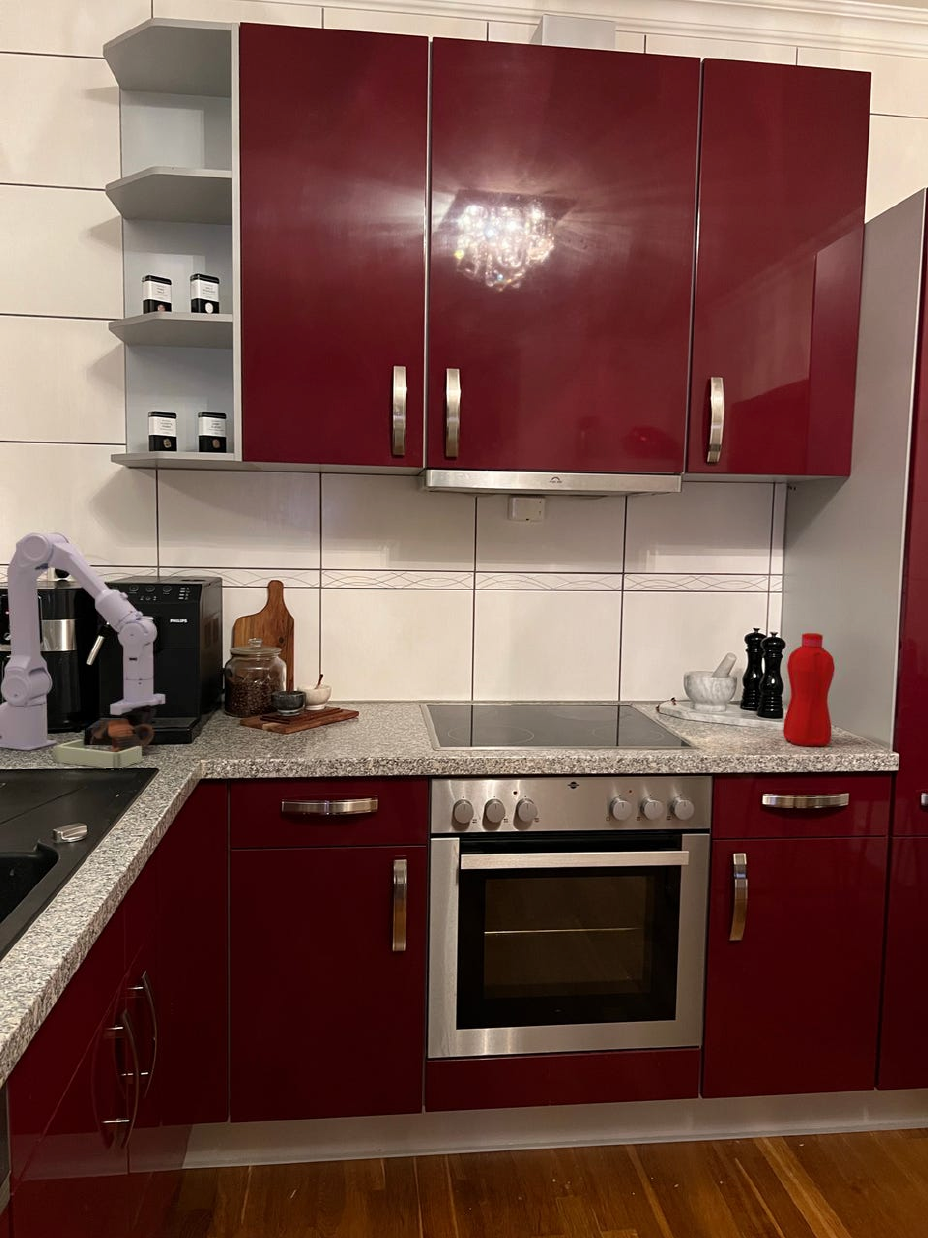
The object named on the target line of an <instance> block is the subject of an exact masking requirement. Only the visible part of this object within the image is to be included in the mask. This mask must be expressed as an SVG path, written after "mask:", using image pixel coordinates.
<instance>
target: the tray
mask: <svg viewBox="0 0 928 1238" xmlns="http://www.w3.org/2000/svg"><path fill="white" fill-rule="evenodd" d="M52 756H53V757H52V758H53V761H52V762H54V763H58V764H59V763H60V764H61V763H62V764H66V763H68V765H74V764H78V765H77V766H82V765H94V766H101V767H113V768H119V767H125V766H128V767H130V766H129V765H131V764H134V763H137V764H139V763H138V762H140V763H141V761H142V762H143V749H142V746H136V747H133V748H130V749H126V750H123V751H120V752H109V750H108V751H106V750H100V749H99V750H98V749H89V748H84V739H80V738H79V739H77V740H75V739H74V740H72V741H69V742H64V743H62V744H58V745H54V746H52ZM134 765H135V764H134ZM131 766H132V765H131ZM125 768H126V767H125Z"/></svg>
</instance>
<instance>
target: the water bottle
mask: <svg viewBox="0 0 928 1238" xmlns="http://www.w3.org/2000/svg"><path fill="white" fill-rule="evenodd" d="M823 637H824V636H823V634H820V633H818V632H816V633H815V632H809V633H808V632H806V633H803V634H801V646H799V647H797V648H795V649H794V650H792V651H791V653H790V654H789V656H788V658H787V659H788V660H787V665H786V670H787V674H788V680H789V687H790V700H789V703H788V706H787V711H786V713H785V717H784V721H783V727H782V728H783V729H782V733H783V734H782V735H783V738H784V739H785V740H786V741H787V740H788V741H787V742H789V741H790V743H792V744H793V745H796V746H799V747H800V746H801V747H826V746H828V745H829V744H830V742H831V739H832V721H831V716H830V709H829V704H828V697H829V691H830V688H831V685H832V681H833V679H834V675H835V671H836V670H835V669H836V666H835V662H834V661H835V660H834V657H833V656H832V655H831V653H830V652H829V651H828V650H826V649H825V648H823V639H824V638H823Z"/></svg>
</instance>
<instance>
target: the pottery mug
mask: <svg viewBox="0 0 928 1238" xmlns="http://www.w3.org/2000/svg"><path fill="white" fill-rule="evenodd" d="M90 731H91V732H90V733H91V736H92V737H91V738H90V742H89V745H96V746H99V745H104V746H112V747H113V748H112V749H109V750H108V752H120V751H123V750H126V749H130V748H133V747H136V746H142V750H143V749H144V747H145V746H148V745H149V744H150V743H151V742H152V741H153V739H154V736H155V730H154V729H153V727H152V725H151V724H150V725H149V724H141V725H138V726H131V725H130V724H129V721H128V720H127V719H124V718H121V719H114V720H110V721H107V722H104V723H102V724H99V725H97V726H95V727H93V728H92V729H91V730H90ZM132 731H134V734H133V732H132ZM143 731H146V732H147V735H146V737H145V739H144V740H141V738H140V736H141V734H142V732H143Z"/></svg>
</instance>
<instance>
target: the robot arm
mask: <svg viewBox="0 0 928 1238" xmlns="http://www.w3.org/2000/svg"><path fill="white" fill-rule="evenodd" d="M51 568H53V569H56V570H61V571H64V572H67V573H68V574H69V575H70V576H71V577H72V578H73V579H74V580H75V581H76V582H77V583H78V584H79V585H80V586H81V588H83V589H84V590H85V591H86V592H87V593H88V594H89V595H90V596H91V597H92V598H93V599H94V602H95V603H94V608H95V609H96V611H97V612H98V613H99V614H100V616H102V618H103V619H104V620H105V621H106V622H107V624H109V625H110V626H111V627H112V628H113V630H115V632H117V638H118V641H119V644H120V645H122V648H123V655H122V659H123V661H122V662H123V663H122V665H123V668H122V669H123V672H122V673H123V699H121V700H119V701H117V702H115V703H112V704H110V706H109V707H110V711H109V712H110V715H116V716H121V717H122V719H127V720H128V721H129V724H130V725H131V726H138V725H141V724H149V725H150V726H151V723H152V721H153V719H154V717H155V715H156V714H157V708H156V707H155V708H154V707H151V706H155V705H156V706H157V705H163V704H166V694H163V693H155V694H154V654H153V653H154V652H153V651H154V644H153V642H154V641H155V640H156V638H157V635H158V631H157V629H158V628H157V627H156V625H155V624H154V622H153V620H152V619H151V618H149V617H143V616H144V613H142V611H138V610H137V609H136V608H135V607H134V606H133V604H131V603H130V602H129V600H128V597H129V595H127V594H126V593H125V592H120V591H119V589H110V588H109V587H108V586H107V585H106V584H105V582H104V581H103V580H102V579H101V577H100V576H99V575H98V574H97V572H96V571H95V570H94V569H93V567H91V565H90V564H89V563H88V562H87V560H86V559H85V558H84V557H83V555H82V554H81V553H80V550H78V548H77V546H76V545H75V544H73V543H72V542H70V540H69V538H67V537H66V535H64V534H62V533H60V532H50V533H49V532H47V533H46V532H45V533H43V532H34V531H33V532H29V533H27V534H26V535H25V536H23V537H22V538H21V539H19V540H18V541H17V542H16V543H15V552H14V554H13V556H12V557H11V560H10V562H9V564H8V567H7V569H6V570H7V571H6V578H7V594H8V595H7V597H8V600H7V601H8V615H9V635H10V636H9V637H10V648H11V650H10V651H11V653H10V655H11V656H10V659H9V660H8V662H7V664H6V666H5V667H4V677H3V680H2V682H1V685H0V692H1V695H2V697H3V699H4V700H5V701H4V702H3V703H1V704H0V748H2V749H3V748H4V749H12V750H13V749H14V750H21V751H32V750H36V749H40V748H43V747H47V746H50V745H54V744H58V741H57V740H53V739H48V715H47V714H48V709H47V707H48V706H47V705H48V703H47V695H48V694H49V692H50V691H51V689H52V687H53V679H52V676H51V674H50V673H49V671H48V665H47V661H46V660H45V659H44V657H43V656H42V654H41V641H40V640H41V638H40V635H41V634H40V618H39V599H38V598H39V597H38V578H40V577H41V576H42V575H43V574H44V573H45V572H47V570H48V569H51ZM132 732H133V734H134V731H132ZM146 735H147V732H146V731H143V732H142V734H141V736H140V738H141V740H144V739H145V737H146Z"/></svg>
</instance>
